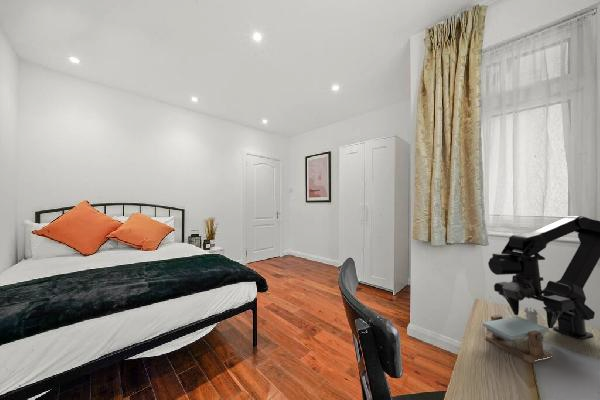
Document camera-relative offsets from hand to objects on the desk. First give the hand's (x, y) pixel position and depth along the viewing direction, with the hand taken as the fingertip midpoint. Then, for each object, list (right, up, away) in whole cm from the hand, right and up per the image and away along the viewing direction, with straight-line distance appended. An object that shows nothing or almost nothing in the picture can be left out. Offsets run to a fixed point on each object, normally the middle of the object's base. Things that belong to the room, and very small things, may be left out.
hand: (532, 321), depth 74 cm
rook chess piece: (0, -4, 0) cm, 4 cm away
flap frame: (-12, -4, -7) cm, 14 cm away
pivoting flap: (-12, 0, -7) cm, 14 cm away
